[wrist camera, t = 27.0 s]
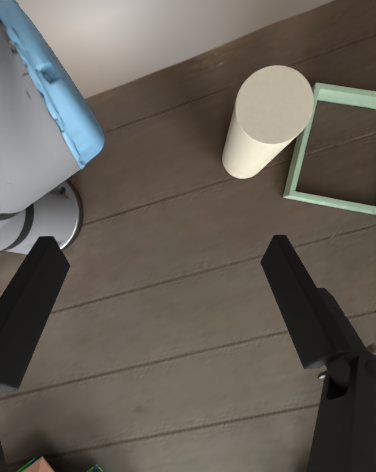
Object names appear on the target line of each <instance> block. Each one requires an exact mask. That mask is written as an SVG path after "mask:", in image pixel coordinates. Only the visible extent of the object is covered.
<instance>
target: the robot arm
mask: <svg viewBox="0 0 376 472" xmlns="http://www.w3.org/2000/svg"><path fill="white" fill-rule="evenodd" d="M103 145H104V134H103V131H102V129H101V127H100V125H99V123H98V121H97V119H96V118H95V116H94V114H93V113H92V111H91V109H90V108H89V106H88V104H87V103H86V101H85V100H84V98H83V97H82V95H81V93H80V92H79V90H78V89H77V87H76V86H75V84H74V82H73V81H72V79H71V78H70V76H69V75H68V73H67V72H66V70H65V69H64V67H63V66H62V64H61V63H60V61H59V60H58V58H57V57H56V55H55V54H54V52H53V51H52V50H51V48H50V47H49V45H48V44H47V42H46V41H45V39H44V38H43V36H42V35H41V34H40V32H39V31H38V29H37V28H36V27H35V25H34V24H33V22H32V21H31V20H30V18H29V17H28V16H27V15H26V14H25V13H24V11H23V10H22V9H21V8H20V6H19V5H18V3H17V2H16V1H15V0H0V251H10V252H15V253H21V254H26V255H27V256H26V258H25V259H24V261H23V263H22V264H21V266H20V267H19V269H18V270H17V272H16V274H15V275H14V277H13V278H12V280H11V281H10V283H9V285H8V286H7V288H6V289H5V291H4V292H3V294H2V296H1V297H0V391H5V390H18V389H19V386H20V384H21V381H22V379H23V377H24V374H25V372H26V370H27V367H28V365H29V362H30V360H31V358H32V355H33V353H34V351H35V348H36V346H37V343H38V341H39V339H40V336H41V334H42V332H43V329H44V327H45V324H46V322H47V320H48V317H49V315H50V313H51V310H52V308H53V305H54V303H55V301H56V298H57V296H58V294H59V291H60V289H61V286H62V284H63V282H64V279H65V277H66V275H67V272H68V270H69V267H70V264H69V263H68V261H67V259H66V257H65V256H64V254H63V252H62V250H64V249H66V248H67V247H68V246H70V245H71V244H72V243H73V242H74V240H75V239H76V238H77V236H78V234H79V232H80V230H81V227H82V222H83V206H82V202H81V199H80V196H79V194H78V192H77V190H76V189H75V187H74V186H73V185H72V184H71V183H70V182H69V181H68V180H67V179H68V178H69V177H70V176H72V175H73V174H75V173H76V172H77V171H79V170H80V169H83V168H84V167H85V164H86V163H87V162H89V161H90V160H91V159H92V158H93V157H94V156H96V155H97V154H98V153H99V152H100V151H101V149H102V148H103ZM261 265H262V267H263V270H264V272H265V275H266V277H267V279H268V282H269V284H270V287H271V289H272V292H273V294H274V297H275V299H276V302H277V304H278V306H279V309H280V311H281V314H282V316H283V319H284V321H285V324H286V326H287V329H288V331H289V333H290V336H291V338H292V341H293V343H294V346H295V348H296V351H297V353H298V355H299V358H300V360H301V363H302V365H303V368H304V369H312V368H320V367H322V366H324V365H326V367H327V369H328V370H326V371H324V372H322V373H320V374H319V375H318V377H317V378H319V379H321V378H324V377H325V379H324V381H323V382H324V384H323V389H322V394H321V400H320V405H319V410H318V415H317V420H316V426H315V431H314V436H313V441H312V447H311V452H310V457H309V462H308V467H307V472H376V356H375V355H373V354H371V353H370V352H369V351H368V350H367V348H366V347H365V346H364V344H363V343H362V341H361V339H360V338H359V336H358V335H357V333H356V331H355V330H354V328H353V327H352V325H351V324H350V322H349V320H348V319H347V317H346V316H345V314H344V312H343V311H342V309H341V308H340V306H339V305H338V303H337V301H336V300H335V298H334V297H333V296H332V295H331V294H330V293H329V292H328V291H327V290H326V289H325V288H317V287H316V286H315V284H314V282H313V280H312V279H311V277H310V275H309V274H308V272H307V270H306V269H305V267H304V265H303V263H302V262H301V260H300V258H299V257H298V255H297V253H296V252H295V250H294V248H293V247H292V245H291V243H290V241H289V240H288V238H287V236H286V235H274V236H273V238H272V240H271V242H270V244H269V246H268V248H267V250H266V252H265V254H264V256H263V258H262V260H261ZM0 472H8V469H7V465H6V461H5V457H4V453H3V449H2V445H1V441H0Z"/></svg>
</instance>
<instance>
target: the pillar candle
mask: <svg viewBox="0 0 376 472" xmlns="http://www.w3.org/2000/svg"><path fill="white" fill-rule="evenodd" d="M313 106H314V98H313V92H312V89H311V86H310V84H309V83H308V81H307V80H306V78H305V77H304V76H303V75H302V74H301V73H299V72H298V71H296V70H295V69H293V68H290V67H287V66H280V65H275V66H268V67H265V68H262V69H260V70H258V71H256V72H255V73H253V74H252V75H251V76H250V77H249V78H248V79H247V80H246V81H245V82H244V83H243V85H242V86H241V88H240V90H239V92H238V95H237V98H236V102H235V106H234V110H233V114H232V118H231V122H230V126H229V130H228V134H227V138H226V142H225V146H224V150H223V154H222V162H223V165H224V167H225V169H226V171H227V172H228V173H229V174H230V175H232V176H234V177H236V178H241V179H245V178H250V177H252V176H254V175H256V174H257V173H258V172H259V171H260V170H261V169H262V168H263V167H265V166H266V165H267V164H268V163H269V162H270V161H271V160H272V159H273V158H274V157H275V156H276V155H277V154H278V153H279V152H280V151H282V150H283V149H284V148H285V147H286V146H287V145H288V144H289V143H290V142H291V141H292V140H293V139H294V138H295V137H296V136H297V135H299V134H300V133H301V132H302V131H303V129H304V128H305V127H306V125H307V124H308V122H309V120H310V118H311V115H312V112H313Z"/></svg>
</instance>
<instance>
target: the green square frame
mask: <svg viewBox="0 0 376 472" xmlns="http://www.w3.org/2000/svg"><path fill="white" fill-rule="evenodd" d="M311 89H312V92H313V98H314V106H313V112H312V115H311V118H310V120H309V122H308V124H307V125H306V127H305V128H304V129H303V131H302V132H301V133H300V134H299V135H298V136H297V140H296V144H295V148H294V152H293V157H292V161H291V165H290V169H289V173H288V177H287V182H286V186H285V190H284V194H283V198H289V199H294V200H299V201H304V202H310V203H315V204H320V205H326V206H331V207H336V208H341V209H347V210H352V211H357V212H362V213H368V214H373V215H376V206H371V205H366V204H360V203H355V202H349V201H344V200H339V199H333V198H328V197H323V196H317V195H312V194H307V193H301V192H296V191H295V190H296V185H297V181H298V177H299V173H300V169H301V165H302V161H303V157H304V153H305V149H306V144H307V140H308V136H309V132H310V128H311V124H312V120H313V116H314V112H315V108H316V103H317V100H321V101H328V102H334V103H340V104H347V105H353V106H360V107H366V108H373V109H376V91H370V90H363V89H356V88H350V87H343V86H336V85H329V84H323V83H315V85H314V86H313V87H312V88H311Z"/></svg>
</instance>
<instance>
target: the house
mask: <svg viewBox="0 0 376 472" xmlns="http://www.w3.org/2000/svg"><path fill="white" fill-rule="evenodd" d="M36 459H37V458H34V459H33V460H32V461H33V462H32V461H30V462H32V463H30V462H29V463H30V464H31V465H30V464H29V463H27V464H28V465H27V464H26V465H25V466H23V467H22V468H20V469H19V470H21V469H23V468H25V467H27V466H28V467H27V468H25V469H23V470H21V471H19V470H18V471H19V472H55V471H54V470H53V469H52V468H51V466H50V465H49V464H48V463H47V461H46V460H45V459H44V458H43V456H42V457H41V458H40V459H37V461H36V462H34V461H35V460H36ZM29 465H30V466H29ZM97 466H98V465H97V464H96V465H95V466H93V467H92V468H91V469H92V470H93V468H94V467H95V469H96V467H97ZM98 467H99V466H98ZM91 469H89V470H88V471H89V472H90V470H91ZM95 469H94V471H95ZM98 469H100V467H99V468H98ZM100 470H101V469H100ZM18 471H16V472H18ZM88 471H86V472H88ZM94 471H93V472H94ZM97 471H98V470H97ZM101 471H102V470H101ZM91 472H92V471H91ZM102 472H103V471H102Z"/></svg>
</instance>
